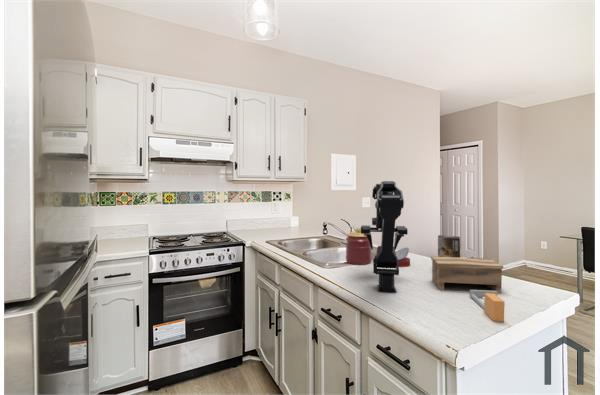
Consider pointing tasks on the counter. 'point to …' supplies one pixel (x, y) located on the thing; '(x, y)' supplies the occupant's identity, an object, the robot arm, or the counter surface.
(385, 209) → the robot arm
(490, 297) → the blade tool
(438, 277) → the cabinet
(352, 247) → the canister
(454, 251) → the coffee box
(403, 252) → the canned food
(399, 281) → the counter surface
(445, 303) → the counter surface
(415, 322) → the counter surface
